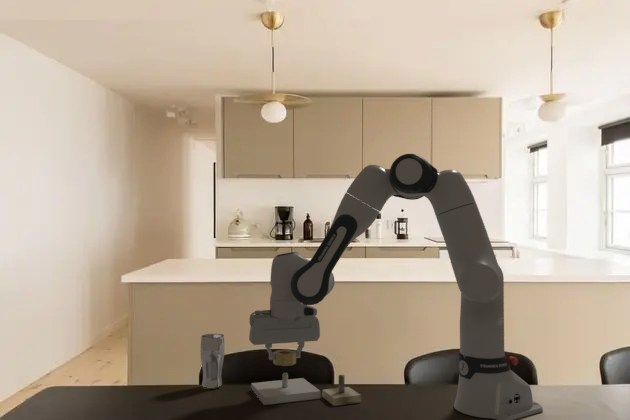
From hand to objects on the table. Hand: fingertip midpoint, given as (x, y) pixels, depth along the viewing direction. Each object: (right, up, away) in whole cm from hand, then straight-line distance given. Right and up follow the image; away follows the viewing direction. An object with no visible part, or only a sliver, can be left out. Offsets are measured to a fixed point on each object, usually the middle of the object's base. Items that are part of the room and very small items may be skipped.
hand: (284, 358), depth 147 cm
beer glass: (-22, -10, +6) cm, 25 cm away
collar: (0, -1, 0) cm, 1 cm away
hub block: (0, -10, -1) cm, 10 cm away
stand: (+16, -10, -5) cm, 19 cm away
